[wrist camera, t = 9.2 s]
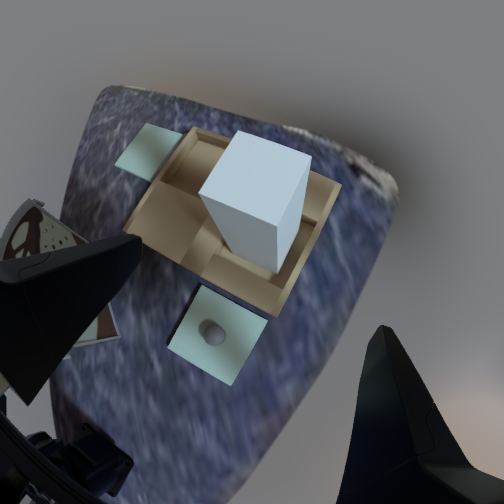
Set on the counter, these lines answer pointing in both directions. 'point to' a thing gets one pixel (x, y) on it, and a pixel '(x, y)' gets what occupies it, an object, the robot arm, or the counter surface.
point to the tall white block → (258, 198)
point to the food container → (44, 240)
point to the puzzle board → (212, 245)
